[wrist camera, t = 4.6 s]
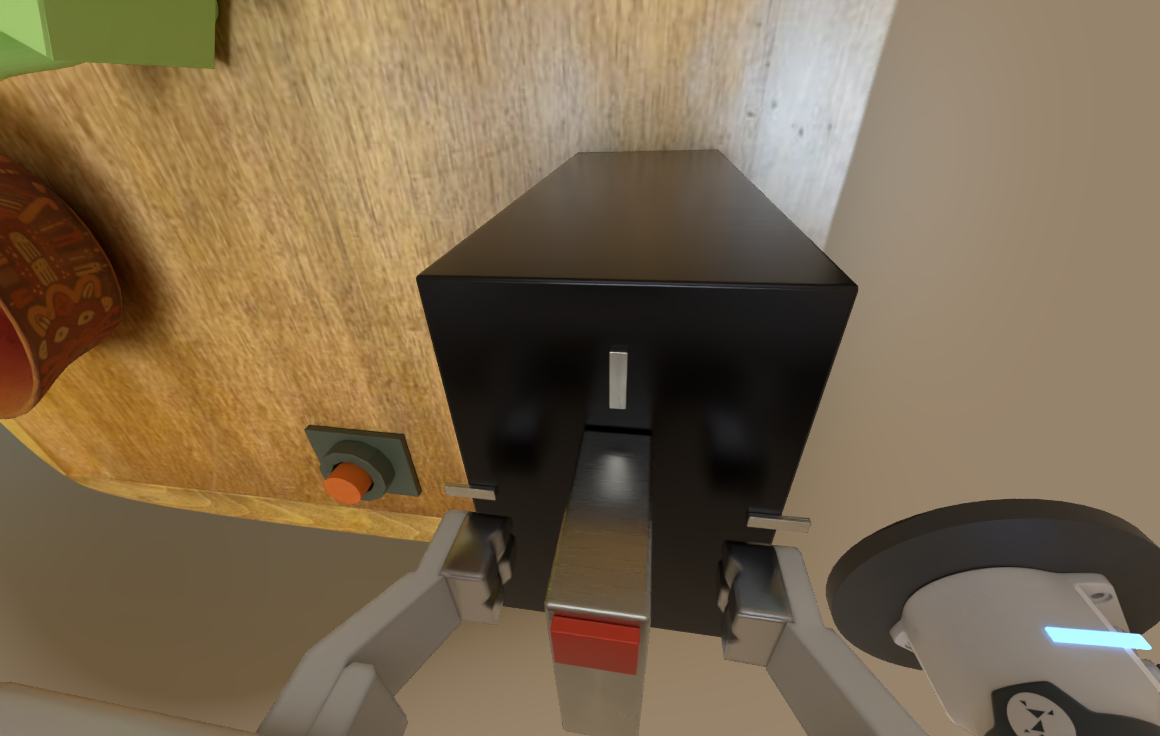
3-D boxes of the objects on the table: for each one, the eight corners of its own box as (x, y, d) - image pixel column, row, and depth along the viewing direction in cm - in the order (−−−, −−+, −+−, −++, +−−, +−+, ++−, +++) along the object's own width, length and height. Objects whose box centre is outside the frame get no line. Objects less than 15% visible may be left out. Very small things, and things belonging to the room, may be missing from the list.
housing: (403, 434, 40) (389, 453, 38) (421, 491, 45) (410, 511, 42) (308, 424, 42) (290, 442, 39) (335, 481, 46) (320, 499, 44)
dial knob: (643, 566, 12) (637, 761, 9) (587, 559, 12) (559, 746, 9) (653, 433, 9) (651, 639, 6) (582, 428, 10) (538, 622, 6)
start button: (366, 463, 40) (353, 480, 38) (377, 489, 42) (365, 506, 40) (332, 459, 41) (317, 475, 39) (344, 485, 42) (330, 502, 41)
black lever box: (703, 338, 30) (760, 649, 13) (575, 333, 31) (480, 608, 15) (730, 149, 23) (907, 291, 7) (567, 152, 25) (379, 278, 8)
